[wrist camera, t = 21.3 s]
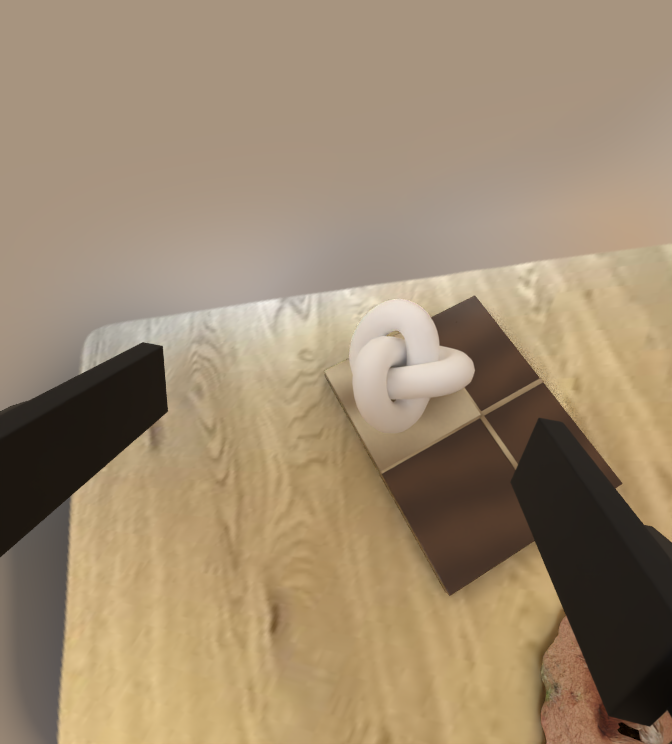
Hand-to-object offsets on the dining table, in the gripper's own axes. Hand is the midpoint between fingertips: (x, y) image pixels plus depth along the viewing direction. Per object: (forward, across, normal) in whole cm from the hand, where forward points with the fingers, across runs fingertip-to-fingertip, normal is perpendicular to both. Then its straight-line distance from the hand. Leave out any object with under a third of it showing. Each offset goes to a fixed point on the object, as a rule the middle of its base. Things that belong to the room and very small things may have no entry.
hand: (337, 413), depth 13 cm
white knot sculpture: (+24, +4, -10) cm, 26 cm away
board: (+23, +12, -13) cm, 29 cm away
